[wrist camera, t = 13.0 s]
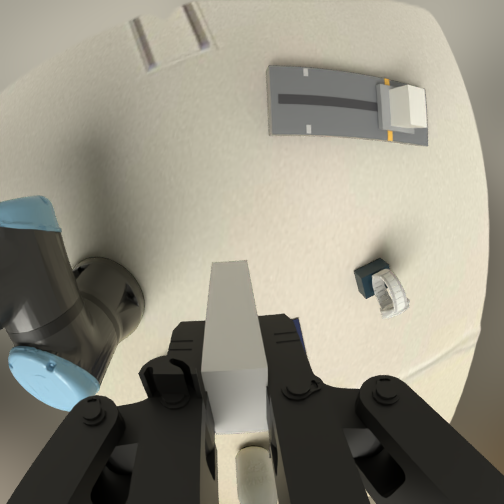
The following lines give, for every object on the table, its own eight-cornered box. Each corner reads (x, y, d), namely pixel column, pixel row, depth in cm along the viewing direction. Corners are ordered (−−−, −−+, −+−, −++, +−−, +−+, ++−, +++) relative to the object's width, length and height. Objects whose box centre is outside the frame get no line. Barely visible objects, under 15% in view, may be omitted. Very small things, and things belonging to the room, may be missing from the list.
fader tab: (378, 129, 35) (401, 127, 29) (376, 85, 33) (398, 77, 27) (410, 134, 35) (434, 134, 30) (407, 92, 33) (431, 86, 27)
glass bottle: (237, 458, 64) (244, 540, 38) (231, 442, 61) (238, 534, 35) (271, 454, 65) (285, 535, 39) (269, 438, 61) (285, 529, 35)
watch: (360, 299, 48) (388, 333, 38) (351, 262, 45) (381, 292, 35) (386, 286, 48) (417, 316, 38) (378, 249, 45) (413, 275, 35)
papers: (143, 362, 48) (141, 374, 44) (292, 309, 50) (299, 319, 47) (196, 430, 56) (197, 441, 53) (315, 389, 59) (321, 399, 55)
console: (268, 135, 38) (272, 134, 34) (265, 71, 34) (269, 65, 31) (417, 145, 39) (428, 146, 36) (414, 91, 36) (425, 88, 33)
